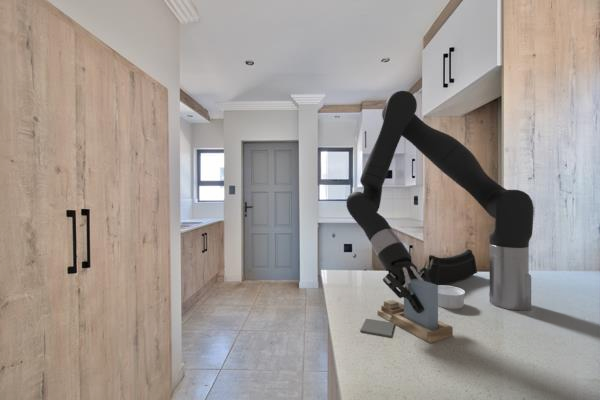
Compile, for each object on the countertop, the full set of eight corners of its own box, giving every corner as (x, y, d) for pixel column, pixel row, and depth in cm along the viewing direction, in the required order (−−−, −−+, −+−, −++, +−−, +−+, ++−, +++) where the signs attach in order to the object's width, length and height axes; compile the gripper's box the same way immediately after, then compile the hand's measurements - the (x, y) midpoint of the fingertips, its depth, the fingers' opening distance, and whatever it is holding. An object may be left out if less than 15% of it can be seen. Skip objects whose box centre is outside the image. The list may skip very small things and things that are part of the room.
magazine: (472, 251, 117) (428, 235, 102) (480, 252, 115) (436, 236, 99) (465, 294, 115) (419, 284, 100) (473, 296, 112) (427, 287, 97)
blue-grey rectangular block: (404, 323, 72) (403, 279, 72) (414, 320, 74) (414, 277, 74) (427, 335, 66) (427, 287, 66) (438, 332, 68) (437, 285, 67)
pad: (394, 324, 72) (394, 323, 72) (391, 337, 66) (391, 335, 66) (366, 320, 75) (366, 318, 75) (360, 331, 69) (360, 330, 69)
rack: (377, 314, 78) (376, 301, 78) (397, 309, 82) (397, 296, 82) (430, 343, 63) (430, 326, 63) (452, 335, 66) (452, 320, 66)
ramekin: (460, 313, 79) (460, 297, 79) (427, 305, 85) (427, 290, 85) (468, 303, 86) (468, 289, 86) (437, 296, 92) (436, 283, 92)
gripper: (375, 243, 73) (414, 308, 63) (416, 239, 80) (458, 297, 69) (362, 260, 78) (396, 323, 67) (401, 254, 84) (438, 311, 74)
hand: (427, 309), depth 68 cm, fingers closed on blue-grey rectangular block, 3 cm apart
